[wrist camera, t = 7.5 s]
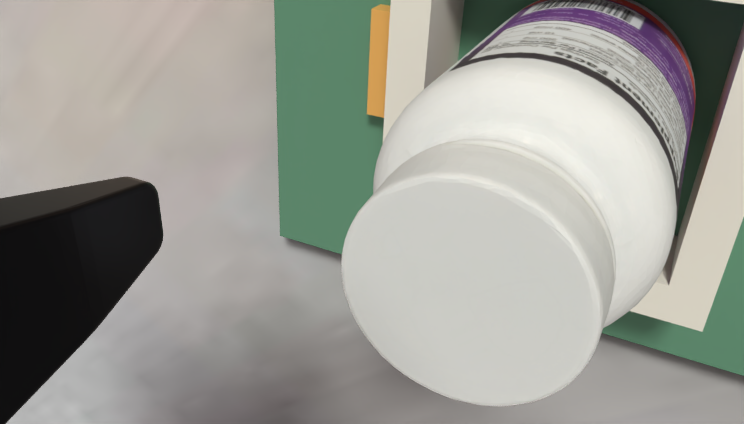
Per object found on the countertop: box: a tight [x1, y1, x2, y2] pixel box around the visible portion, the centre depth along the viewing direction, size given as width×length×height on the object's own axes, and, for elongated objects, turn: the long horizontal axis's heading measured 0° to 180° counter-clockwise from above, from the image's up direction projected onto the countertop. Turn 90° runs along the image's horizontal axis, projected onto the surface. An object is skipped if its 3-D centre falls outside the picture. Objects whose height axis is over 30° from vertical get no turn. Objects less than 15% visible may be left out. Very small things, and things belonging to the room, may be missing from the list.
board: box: [274, 0, 744, 376], centre depth 17 cm, size 18×14×4 cm
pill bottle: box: [341, 0, 696, 406], centre depth 14 cm, size 5×5×10 cm
